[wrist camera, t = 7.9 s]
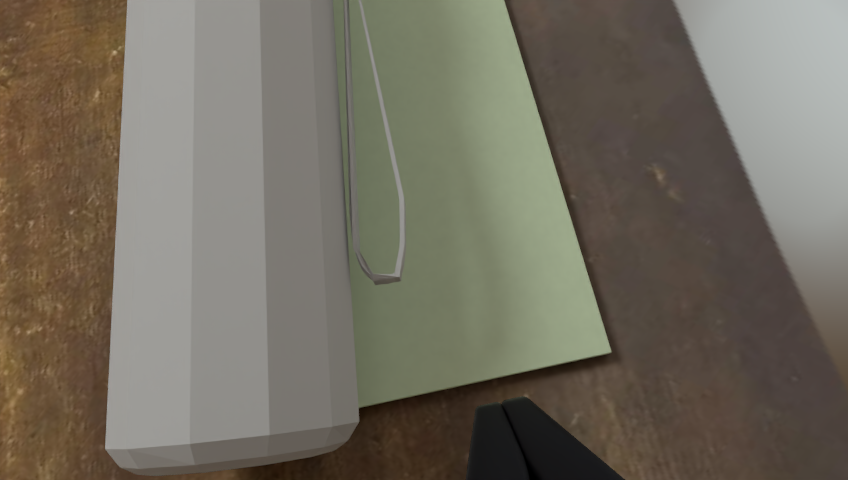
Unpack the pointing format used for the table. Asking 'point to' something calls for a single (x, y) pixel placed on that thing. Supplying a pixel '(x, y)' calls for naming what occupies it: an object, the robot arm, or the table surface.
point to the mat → (455, 206)
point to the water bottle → (234, 238)
